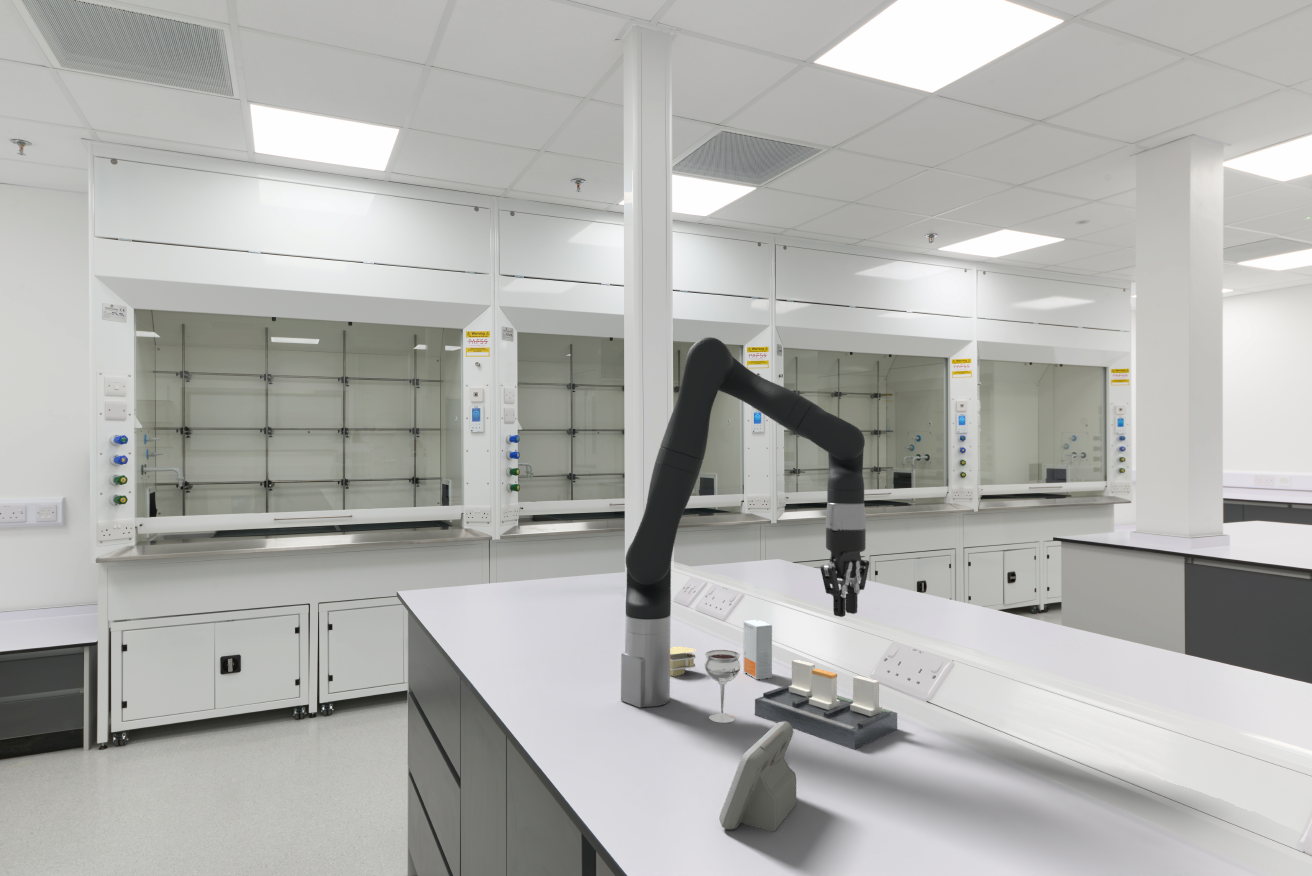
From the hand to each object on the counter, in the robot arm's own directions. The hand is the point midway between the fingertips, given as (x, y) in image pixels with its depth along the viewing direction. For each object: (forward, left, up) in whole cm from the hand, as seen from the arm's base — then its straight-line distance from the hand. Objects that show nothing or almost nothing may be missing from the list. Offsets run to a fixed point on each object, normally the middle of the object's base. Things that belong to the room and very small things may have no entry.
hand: (845, 614), depth 141 cm
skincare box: (+6, +27, -19) cm, 34 cm away
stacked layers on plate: (-6, +40, -20) cm, 45 cm away
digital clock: (-43, -14, -19) cm, 49 cm away
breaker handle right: (-4, -7, -16) cm, 18 cm away
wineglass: (-20, +14, -19) cm, 31 cm away
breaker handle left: (-4, +7, -16) cm, 18 cm away
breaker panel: (-7, 0, -19) cm, 20 cm away
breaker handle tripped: (-7, 0, -16) cm, 17 cm away
